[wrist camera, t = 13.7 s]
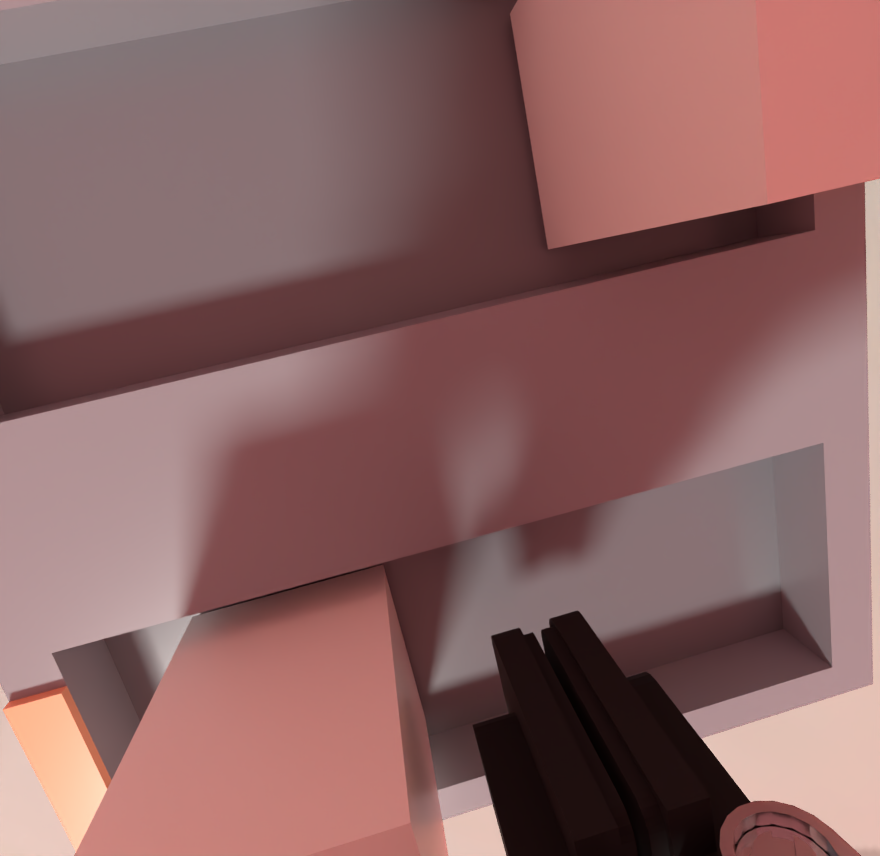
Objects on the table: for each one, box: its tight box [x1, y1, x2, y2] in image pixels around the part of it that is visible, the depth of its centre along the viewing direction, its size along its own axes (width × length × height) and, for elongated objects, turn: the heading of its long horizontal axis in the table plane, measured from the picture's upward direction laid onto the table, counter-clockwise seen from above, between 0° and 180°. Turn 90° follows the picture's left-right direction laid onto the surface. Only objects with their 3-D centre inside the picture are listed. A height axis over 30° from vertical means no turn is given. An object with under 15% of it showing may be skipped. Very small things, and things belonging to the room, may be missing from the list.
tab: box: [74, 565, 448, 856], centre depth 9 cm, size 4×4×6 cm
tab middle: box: [510, 0, 880, 249], centre depth 7 cm, size 4×4×6 cm
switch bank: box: [0, 0, 873, 851], centre depth 10 cm, size 26×18×4 cm
